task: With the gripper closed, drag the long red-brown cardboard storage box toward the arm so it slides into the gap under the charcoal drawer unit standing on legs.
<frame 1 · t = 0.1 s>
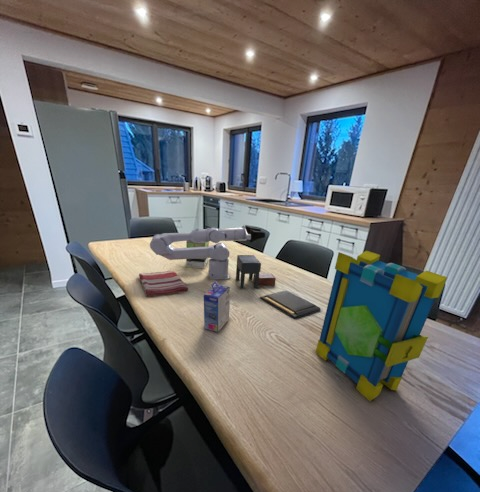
hand: (262, 233, 124), 22 cm above the table, tool horizontal, fingers open, 7 cm apart
dish towel: (162, 284, 116), on the table
tea box: (197, 264, 145), on the table
storage box: (263, 283, 125), on the table
ink cartridge box: (216, 324, 89), on the table
wallet: (289, 304, 106), on the table
decorative book: (351, 369, 72), on the table
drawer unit: (246, 283, 123), on the table
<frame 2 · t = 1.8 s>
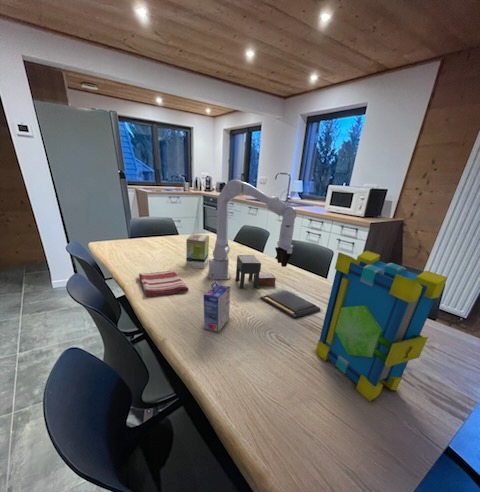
hand: (281, 264, 123), 9 cm above the table, tool pointing down, fingers open, 5 cm apart
nothing on the table moved.
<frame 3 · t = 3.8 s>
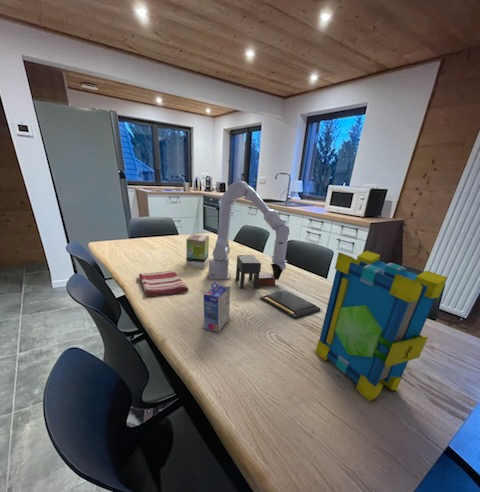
hand: (276, 279, 125), 2 cm above the table, tool pointing down, fingers closed, pressing on storage box
storage box: (263, 283, 125), on the table, touching gripper
everything else where it was.
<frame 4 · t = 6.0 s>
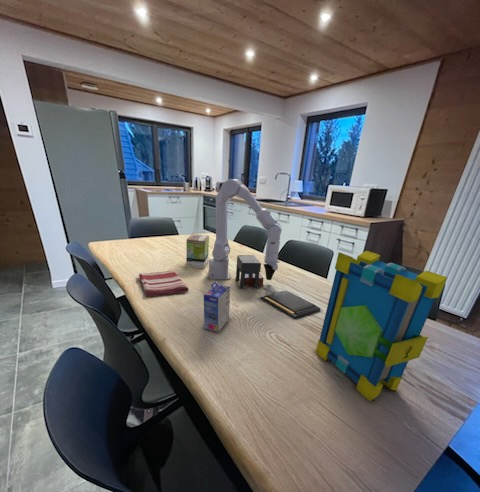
hand: (268, 279, 125), 2 cm above the table, tool pointing down, fingers closed
storage box: (251, 283, 124), on the table
everything else where it was.
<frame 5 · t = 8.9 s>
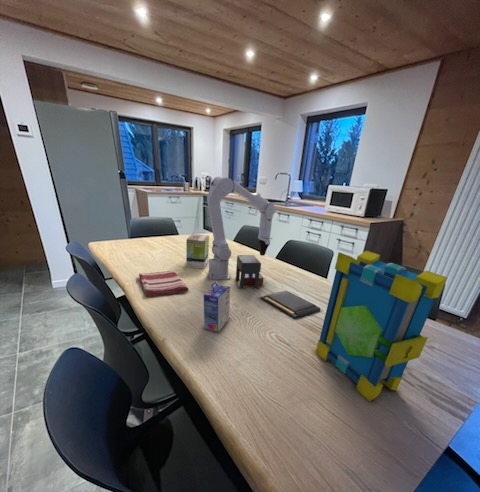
hand: (262, 255, 135), 9 cm above the table, tool pointing down, fingers closed
nothing on the table moved.
at the end: storage box 1.5 cm from the target spot, on the table; storage box tilted 0° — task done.
